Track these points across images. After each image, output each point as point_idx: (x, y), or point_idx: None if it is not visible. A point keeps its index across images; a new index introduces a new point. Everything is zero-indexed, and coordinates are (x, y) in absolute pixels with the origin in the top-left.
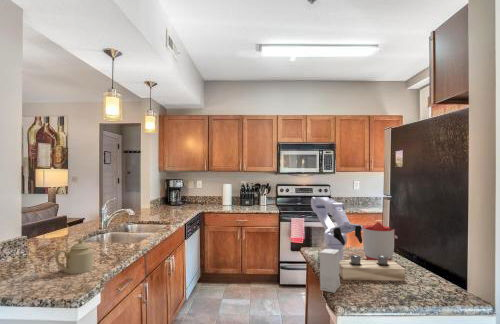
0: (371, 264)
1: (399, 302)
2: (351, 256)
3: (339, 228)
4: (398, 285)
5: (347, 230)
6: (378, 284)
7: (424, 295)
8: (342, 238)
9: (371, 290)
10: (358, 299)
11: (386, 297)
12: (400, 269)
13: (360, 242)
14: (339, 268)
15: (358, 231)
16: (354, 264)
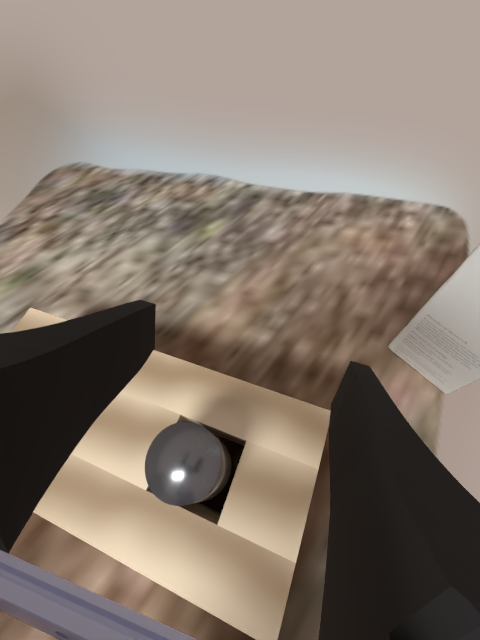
0: (110, 420)
1: (254, 203)
2: (219, 466)
3: (463, 583)
4: (137, 300)
5: (111, 607)
6: (200, 328)
7: (141, 223)
8: (377, 391)
9: (273, 286)
10: (369, 238)
11: (265, 233)
12: (49, 314)
13: (153, 337)
14: (422, 307)
15: (43, 344)
16: (221, 443)
